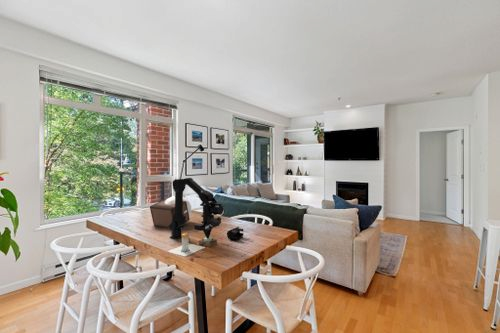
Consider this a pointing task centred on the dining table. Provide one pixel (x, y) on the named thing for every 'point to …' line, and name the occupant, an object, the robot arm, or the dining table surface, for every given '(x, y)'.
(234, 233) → the end cap
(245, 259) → the dining table surface
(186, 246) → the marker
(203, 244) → the button housing
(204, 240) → the button
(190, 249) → the paper
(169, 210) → the tissue box
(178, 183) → the robot arm
